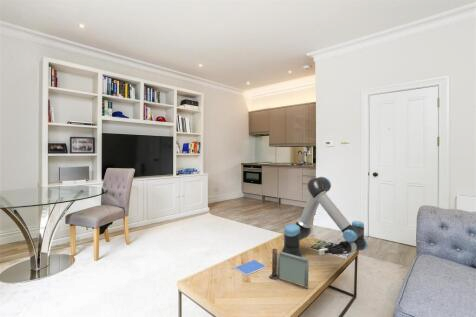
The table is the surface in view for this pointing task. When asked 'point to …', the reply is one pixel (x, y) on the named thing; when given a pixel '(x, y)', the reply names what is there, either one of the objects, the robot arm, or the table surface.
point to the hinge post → (274, 265)
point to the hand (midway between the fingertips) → (319, 252)
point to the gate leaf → (293, 268)
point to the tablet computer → (250, 267)
